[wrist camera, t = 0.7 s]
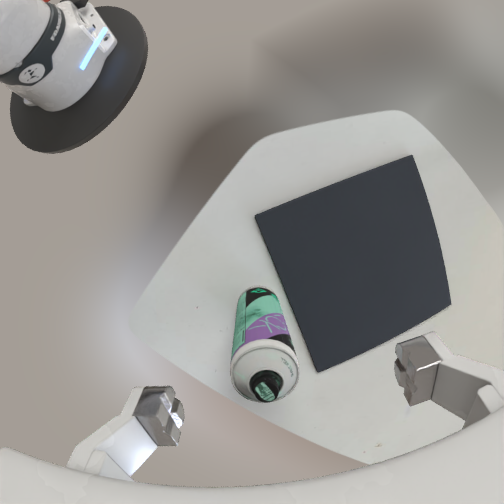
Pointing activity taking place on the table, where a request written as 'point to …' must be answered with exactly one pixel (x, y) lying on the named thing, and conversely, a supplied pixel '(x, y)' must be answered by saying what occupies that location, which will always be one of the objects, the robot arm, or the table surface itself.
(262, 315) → the spray can
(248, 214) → the table surface
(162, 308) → the table surface
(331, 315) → the mat
